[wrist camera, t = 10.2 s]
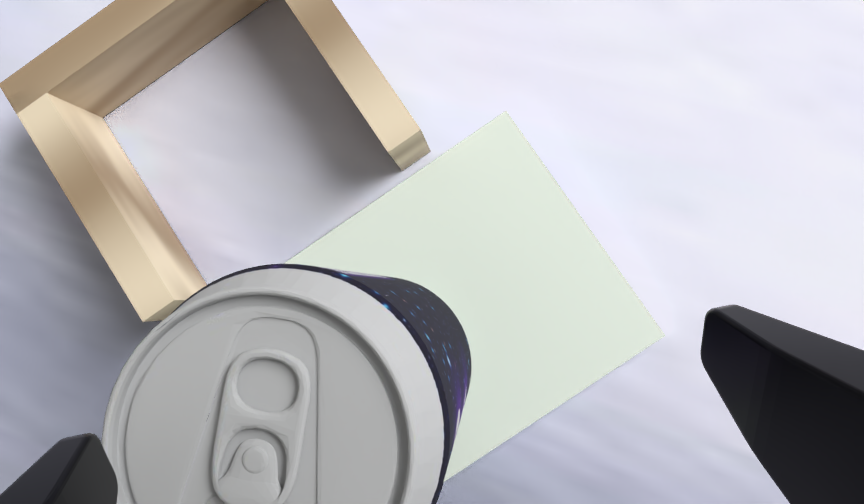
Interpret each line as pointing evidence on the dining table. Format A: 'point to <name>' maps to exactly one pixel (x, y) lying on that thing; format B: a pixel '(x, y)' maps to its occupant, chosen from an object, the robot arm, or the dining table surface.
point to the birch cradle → (129, 74)
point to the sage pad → (500, 279)
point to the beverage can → (292, 393)
